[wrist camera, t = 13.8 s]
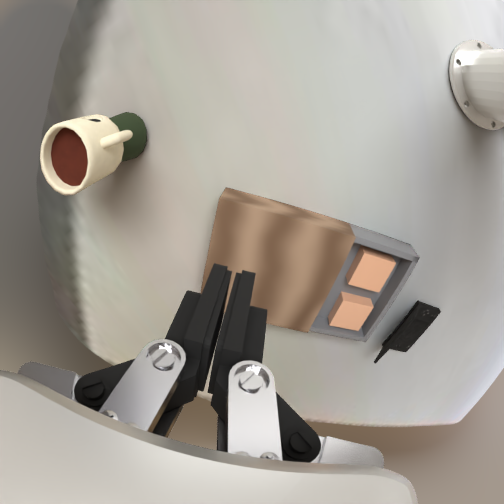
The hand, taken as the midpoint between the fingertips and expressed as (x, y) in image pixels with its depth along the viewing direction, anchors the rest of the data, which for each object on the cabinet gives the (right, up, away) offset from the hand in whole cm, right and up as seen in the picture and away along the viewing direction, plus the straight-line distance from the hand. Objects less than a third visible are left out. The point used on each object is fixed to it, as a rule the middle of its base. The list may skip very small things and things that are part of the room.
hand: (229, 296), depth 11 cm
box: (+16, -2, +27) cm, 32 cm away
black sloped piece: (+27, -11, +31) cm, 43 cm away
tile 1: (+15, -7, +27) cm, 32 cm away
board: (+4, +1, +27) cm, 27 cm away
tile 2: (+17, -1, +23) cm, 29 cm away
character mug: (-15, +17, +20) cm, 30 cm away
